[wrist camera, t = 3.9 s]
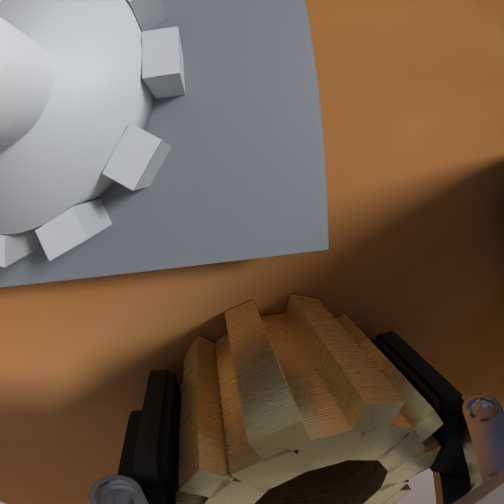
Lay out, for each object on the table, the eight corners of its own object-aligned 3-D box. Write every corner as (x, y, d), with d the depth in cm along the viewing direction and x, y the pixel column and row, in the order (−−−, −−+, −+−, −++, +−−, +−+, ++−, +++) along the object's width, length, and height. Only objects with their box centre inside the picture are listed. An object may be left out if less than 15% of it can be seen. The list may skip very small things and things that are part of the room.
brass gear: (368, 281, 10) (475, 360, 5) (353, 420, 11) (405, 508, 6) (162, 310, 9) (134, 439, 4) (199, 449, 10) (207, 556, 6)
